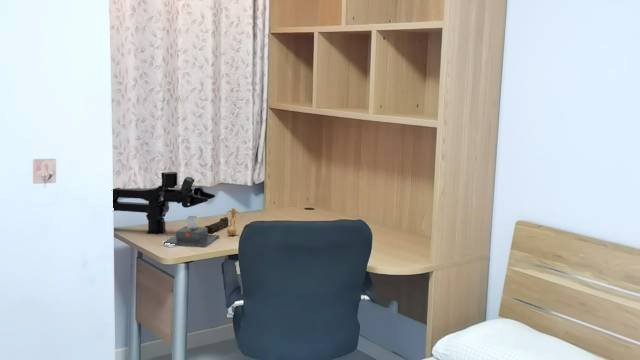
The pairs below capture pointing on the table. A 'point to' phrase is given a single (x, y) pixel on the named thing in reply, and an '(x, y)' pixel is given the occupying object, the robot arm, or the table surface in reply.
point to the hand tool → (217, 225)
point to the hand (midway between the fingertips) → (211, 197)
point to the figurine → (231, 230)
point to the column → (192, 223)
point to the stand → (192, 237)
